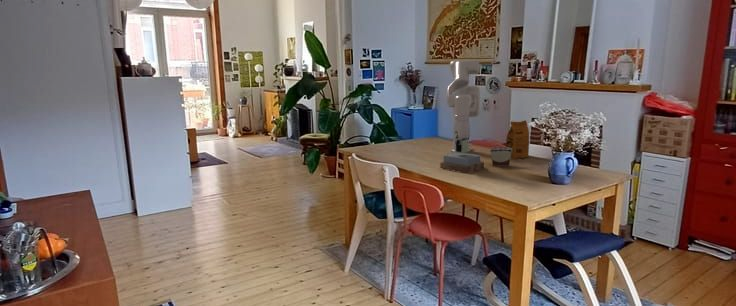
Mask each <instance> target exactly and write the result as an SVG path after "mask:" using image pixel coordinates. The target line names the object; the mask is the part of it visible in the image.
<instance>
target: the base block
mask: <svg viewBox="0 0 736 306" xmlns="http://www.w3.org/2000/svg"><path fill="white" fill-rule="evenodd" d="M439 167H440V168H443V169H442V170H445V169H449V170H448V171H451V170H455V171H454V172H456V171H460V172H459V173H462V172H465V173H464V174H467V173H468V174H470V173H473V172H476V171H479V170H482V169H484V168H485V162H484V161H481V160H480V163H477V164H474V165H471V166H462V165H456V164H449V163H444V161H442V162H440V163H439ZM440 168H439V169H440ZM475 170H476V171H475ZM472 171H473V172H472ZM469 172H470V173H469Z"/></svg>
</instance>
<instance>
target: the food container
mask: <svg viewBox="0 0 736 306" xmlns="http://www.w3.org/2000/svg"><path fill="white" fill-rule="evenodd" d="M511 152H513V151H512V148H509V147H506V146H492V147H491V148H490V151H489V153H490V154H491V155H490V156H491V166H492V167H510V165H511V159H512V158H511Z"/></svg>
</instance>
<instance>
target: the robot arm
mask: <svg viewBox="0 0 736 306" xmlns="http://www.w3.org/2000/svg"><path fill="white" fill-rule="evenodd" d="M480 67H481V65H480V61H479V60H478V59H455V60H452V61H450V63H449V69H450V72H451V74H452V77H453V81H452V82H451V83H450V84H449V85H448V86H447V89H446V93H445V94H446V95H445V100H446V101H445V102H446V107H448V108H451V114H452V148H451V149H450V152H452V153H454V152H455V144H456V151H457V152H461V139H467V140H468V141H469V139H470V138H471V128H470V127H471V126H470V118H478V117H479V116H480V112H481V111H480V110H481V105H480V104H481V91H480V87H479V86H478V85H469V83H470V75H478V74H479V73H480V69H481V68H480ZM458 140H459V141H458ZM469 147H472V143H469V142H468V152H467V153H469V152H471V148H469Z"/></svg>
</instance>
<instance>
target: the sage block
mask: <svg viewBox="0 0 736 306" xmlns="http://www.w3.org/2000/svg"><path fill="white" fill-rule="evenodd" d="M458 141H459V140H458ZM468 144H469V140H467V139H461V152H457V151H456V144H455V152H456V153H467V154H468V153H469V152H468V148H469V147H468Z"/></svg>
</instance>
